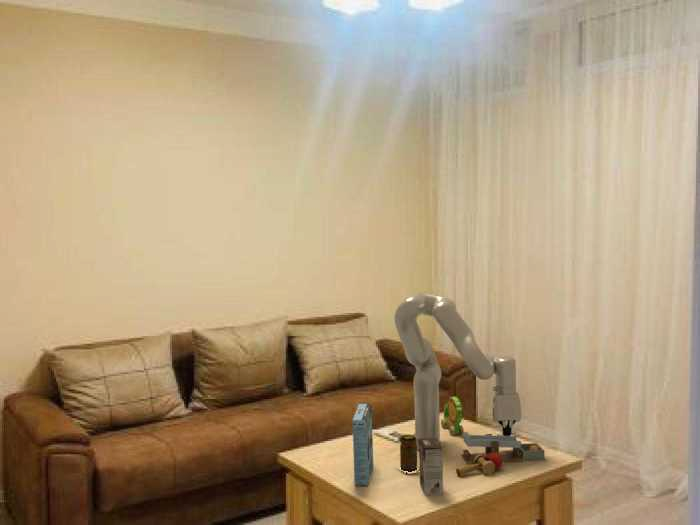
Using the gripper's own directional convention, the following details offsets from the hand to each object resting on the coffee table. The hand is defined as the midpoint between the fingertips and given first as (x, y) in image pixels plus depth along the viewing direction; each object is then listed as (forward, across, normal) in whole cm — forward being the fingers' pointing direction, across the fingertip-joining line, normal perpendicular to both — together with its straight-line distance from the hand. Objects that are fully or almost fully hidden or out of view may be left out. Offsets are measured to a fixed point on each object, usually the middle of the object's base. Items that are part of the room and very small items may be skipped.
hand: (507, 436), depth 265 cm
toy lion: (+6, -15, +26) cm, 31 cm away
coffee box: (+6, -36, -30) cm, 47 cm away
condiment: (+6, -40, -12) cm, 42 cm away
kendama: (+6, -16, -18) cm, 25 cm away
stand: (+6, -8, -6) cm, 11 cm away
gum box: (+5, -56, -14) cm, 58 cm away
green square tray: (+6, +7, -6) cm, 11 cm away
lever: (0, -8, -3) cm, 8 cm away
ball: (+4, +8, -6) cm, 11 cm away
